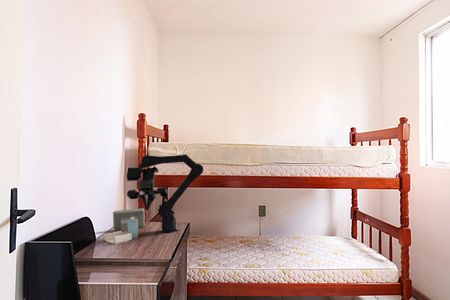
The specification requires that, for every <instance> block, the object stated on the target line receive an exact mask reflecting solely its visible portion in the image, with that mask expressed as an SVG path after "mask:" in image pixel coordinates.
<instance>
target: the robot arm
mask: <svg viewBox="0 0 450 300" xmlns="http://www.w3.org/2000/svg"><path fill="white" fill-rule="evenodd" d="M176 163H184V164H185V165H187V167H188V168H190V170H189V173H188V174H187V176H186V177H185V179H184V180H183V181H182V183H181V184H180V185H179V187H177V188H176V190H175V192H173V194H172V195H171V196H170V197H169V198H168V199H167V198H165V199H164V200H163V201H162V203H160V204H159V206H158V210H157V212H158V213H157V214H158V215H159V216H160V217H161V218H162V220H161V222H162V223H161V230H160V232H161V233H162V232H163V233H167V234H170V233H174V232H177V231H179V229H178V228H177V222H176V221H177V220H176V219H177V218H176V217H175V215H176V212H175V211H173V208H174V206H175V204H176V203H177V201H178V200H179V199H180V198H181V197H182V196H183V194H184V193H185V191H186V190H187V189H188V188H189V186H190V185H191V184H192V183H193V182H194V181H195V180H197V179H198V177H200V176H201V175H202V174H203V172H204V167H203V165H202V164H200V163H197V162H195V161H194V160H193V159H192V158H190V157H189V156H188V154H181V155H164V156H160V155H159V156H157V155H156V156H155V155H147V154H146V155H144V156H143V157H142V158H141V163H139V165H138V167H127V172H126V181H127V182H138V189H139V190H140V191H137V190H136V189H129V190H127V191H126V196H127V197H128V198H129V199H130V200H137V199H138V198H140V200H142V201H143V206H144V208H145V211H149V210H150V208H151V205H152V203H153V202H154V200H155V199H157V195H160V196H161V197H168V196H169V191H168V189H167V188H166V186H162V187H157V189H156V190H155V173H159V169H158V168H157V167H156V166H159V165H161V164H163V165H164V164H176Z"/></svg>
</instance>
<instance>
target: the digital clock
mask: <svg viewBox="0 0 450 300" xmlns="http://www.w3.org/2000/svg"><path fill="white" fill-rule="evenodd" d="M130 217H135V219H137V220H138V231H139V230H140V228H143V227H145V225H146V224H145V221H146V219H145V209H144V208H131V209H123V210H122V209H121V210H114V211H113V212H112V219H113V220H112V221H113V224H112V225H113V230H114V231H115V230H116V231H122V232H128V220H130Z"/></svg>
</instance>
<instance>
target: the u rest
mask: <svg viewBox="0 0 450 300" xmlns="http://www.w3.org/2000/svg"><path fill="white" fill-rule="evenodd" d="M103 235H104V236H103V237H104V242H106V243H109V244H113V245H119V244H123V243H127V242H131V241H132V240H133V238H132V234H131V233H129V234H128V233H125V234H124V233H123V231H121V230H117V231H113V232H108V233H104V234H103Z"/></svg>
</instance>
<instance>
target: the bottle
mask: <svg viewBox="0 0 450 300" xmlns="http://www.w3.org/2000/svg"><path fill="white" fill-rule="evenodd" d="M129 233H131V234H132V239H137V238H139V230H138V220H137V219H135V217H130V220H128V231H127V234H129Z"/></svg>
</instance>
